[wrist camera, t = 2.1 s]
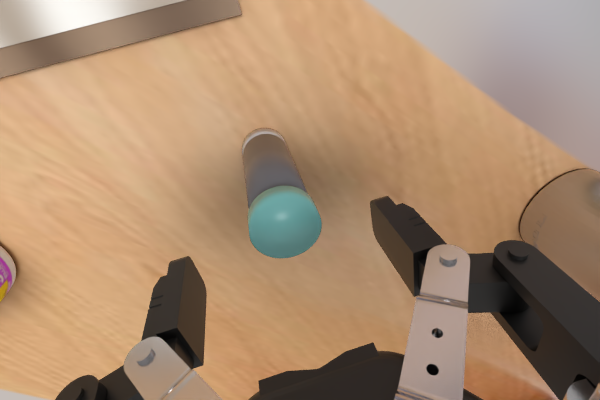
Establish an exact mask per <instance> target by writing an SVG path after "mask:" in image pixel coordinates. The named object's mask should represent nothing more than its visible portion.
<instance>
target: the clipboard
mask: <svg viewBox="0 0 600 400" xmlns="http://www.w3.org/2000/svg"><path fill="white" fill-rule="evenodd" d="M241 14H242V13H241V9H240V6H239V2H238V0H0V78H2V77H5V76H9V75H13V74H17V73H21V72H24V71H28V70H32V69H36V68H40V67H44V66H47V65H51V64H55V63H59V62H63V61H66V60H70V59H74V58H78V57H82V56H85V55H89V54H93V53H97V52H101V51H104V50H108V49H112V48H116V47H120V46H123V45H127V44H131V43H135V42H139V41H142V40H146V39H150V38H154V37H158V36H161V35H165V34H169V33H173V32H177V31H181V30H184V29H188V28H192V27H196V26H200V25H203V24H207V23H211V22H215V21H219V20H222V19H226V18H230V17H234V16H238V15H241Z"/></svg>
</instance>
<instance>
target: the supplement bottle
mask: <svg viewBox="0 0 600 400" xmlns="http://www.w3.org/2000/svg"><path fill="white" fill-rule="evenodd" d="M15 278H16V267H15V264H14V262H13V260H12V258H11V256H10V255H9V254H8V253H7V252H6V250H5V249H3V248H2V247H1V246H0V302H1V301H2V299H3V298H4V297H5V295H6V294H7V292H8V291H9V290H10V288H11V287H12V285H13V284H14V281H15Z"/></svg>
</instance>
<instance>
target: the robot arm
mask: <svg viewBox="0 0 600 400" xmlns="http://www.w3.org/2000/svg"><path fill="white" fill-rule="evenodd" d="M370 208H371V217H372V225H373V231H374V235H375V237H376V239H377V241H378V243H379V244H380V246H381V247H382V249H383V250H384V252H385V253H386V255H387V257H388V258H389V260H390V261H391V263H392V264H393V266H394V267H395V269H396V270H397V272H398V273H399V275H400V276H401V278H402V279H403V281H404V282H405V284H406V285H407V287H408V288H409V290H410V291H411V293H412V294H413V296H414V297H415V296H417V298H416V302H415V307H414V312H413V317H412V322H411V327H410V332H409V337H408V342H407V347H406V352H405V355H402V354H399V353H395V352H390V351H377V350H376V348H375V345H374V343H370V344H367V345H364V346H361V347H358V348H355V349H352V350H349V351H346V352H344V353H343V354H341V355H340V356H338V357H337V358H335V359H334V360H332V361H330V362H329V363H327V364H326V365H324V366H323V367H321V368H319V369H313V370H298V371H286V372H283V373H280V374H277V375H274V376H271V377H268V378H266V379H263V380H260V381H259V390H260V391H259V392H257V393H256V394H255V395H253V396H252V397H251V398H250V399H249V400H483V399H481V398H479V397H478V396H476V395H474V394H472V393H471V392H469V391H467V390H466V389H464V388H463V385H464V368H465V351H466V334H467V317H468V313H483V312H491V314H492V315H493V316H494V317H495V319H496V320H497V321H498V322H499V324H500V325H501V326H502V328H503V329H504V330H505V331H506V333H507V334H508V335H509V336H510V338H511V339H512V340H513V342H514V343H515V344H516V345H517V347H518V348H519V349H520V350H521V352H522V353H523V354H524V355H525V357H526V358H527V359H528V361H529V362H530V363H531V364H532V366H533V367H534V368H535V369H536V371H537V372H538V373H539V375H540V376H541V377H542V378H543V380H544V381H545V382H546V383H547V385H548V386H549V387H550V389H551V390H552V391H553V392H554V394H555V395H556V396H557V397H558V399H559V400H600V302H599V301H600V172H598V171H596V170H591V169H581V170H576V171H573V172H569V173H567V174H565V175H563V176H561V177H559V178H557V179H556V180H554V181H552V182H551V183H549V184H548V185H547V186H546V187H545V188H543V189H542V190H541V191H540V192H539V193H538V194H537V195H536V196H535V197H534V198H533V200H532V201H531V202H530V204H529V205H528V207H527V208H526V210H525V212H524V214H523V216H522V220H521V223H520V234H521V237H522V238H523V240H524V241H525V242H526V243H525V242H522V241H515V240H509V241H503V242H501V243H499V244H498V245H496V247H495V249H494V253H482V254H468V253H467V252H466V251H464V250H463V249H461V248H460V247H457V246H454V245H448V244H446V243H445V242H444V241H443V239H442V238H441V237H440V236H439V235H438V234H437V233H436V232H435V231H434V230H433V229H432V228H431V227H430V226H429V225H428V224H427V223H426V222H425V220H424V219H423V218H422V217H420V215H419V214H418V213H417V212H416V211H415V210H414V209H413V208H411V207H409V206H407V205H405V204H403V203H402V204H399V205H396V204H395V203H394V202H393V201H392V200H391V199H390V198H389V197H388V196H385V197H382V198H378V199H375V200H372V201H371V202H370ZM582 287H583V288H582ZM587 291H588V292H589V293H588V292H587ZM592 295H593V296H594V297H595V298H596V299H595V298H594V297H593V296H592ZM597 299H598V300H599V301H598V300H597ZM205 317H206V288H205V284H204V281H203V279H202V278H201V276H200V274H199V272H198V270H197V268H196V267H195V265H194V263H193V261H192V259H191V258H190V257H189V256H187V257H184V258H180V259H177V260H174V261H171V262H170V263H169V267H168V273H167V275H166V276H163V277H160V279H159V280H158V282H157V284H156V285H155V287H154V288H153V293H152V297H151V301H150V305H149V310H148V314H147V318H146V323H145V327H144V331H143V336H142V340H141V342H139V343H138V344H137V345H135V346H134V347H133V348H132V350H131V351H130V352H129V353H128V355H127V357H126V359H125V361H124V365H123V366H122V367H120V368H118V369H117V370H115V371H114V372H112V373H110V374H109V375H107V376H105V377H104V378H102V379H101V380H98V379H97V378H96V377H94V376H92V375H86V376H82V377H80V378H77V379H76V380H74V381H72V382H71V383H70V384H68V385H67V386H66V387H65V388H64V389H63V390H62V391H61V392H60V394H59V395H58V396H57V398H56V399H55V400H222V399H221V398H220V397H219V395H218V394H217V393H216V392H215V391H214V390H213V389H212V388H211V387H210V386H209V385H208V384H207V383H206V382H205V381H204V380H203V379H202V378H201V377H200V376H199V375H198V374H197V373H196V372H195V371H194V370H193V368H196V367H199V366H202V365H203V362H204V339H205Z"/></svg>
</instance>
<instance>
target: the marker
mask: <svg viewBox="0 0 600 400" xmlns="http://www.w3.org/2000/svg"><path fill="white" fill-rule="evenodd" d="M242 154H243V163H244V172H245V181H246V189H247V198H248V207H249V211H248V226H249V235H250V239H251V242H252V244H253V245H254V247H255V248H256V249H257V250H258V251H259V252H261V253H263V254H264V255H267V256H270V257H274V258H289V257H293V256H296V255H299V254H301V253H303V252H305V251H306V250H308V249H309V248H310V247H311V246H312V245H313V244H314V243H315V242H316V240H317V239H318V237H319V235H320V232H321V224H322V223H321V218H320V215H319V213H318V211H317V208H316V206H315V204H314V202H313V200H312V198H311V197H310V196H309V195H308V193H307V191H306V188H305V186H304V184H303V182H302V179H301V177H300V175H299V172H298V170H297V168H296V165H295V163H294V161H293V159H292V156H291V154H290V152H289V149H288V147H287V145H286V143H285V140H284V138H283V137H282V136H281V135H280V134H279V133H278V132H277V131H275V130H273V129H269V128H260V129H256V130H254V131H252V132H251V133H250V134H248V135H247V137H246V138H245V140H244V142H243V145H242Z"/></svg>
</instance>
